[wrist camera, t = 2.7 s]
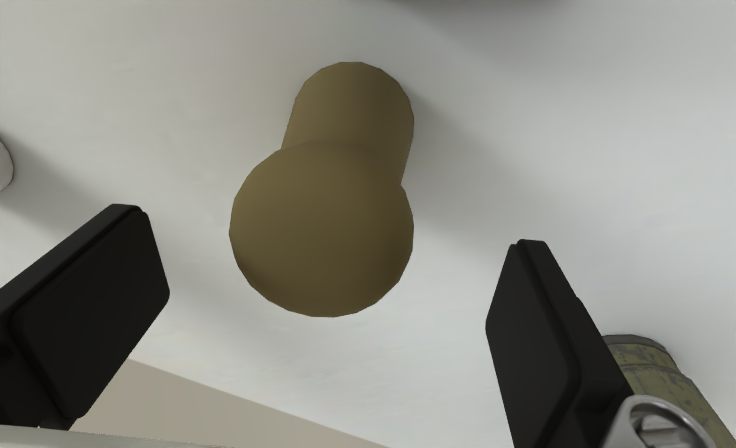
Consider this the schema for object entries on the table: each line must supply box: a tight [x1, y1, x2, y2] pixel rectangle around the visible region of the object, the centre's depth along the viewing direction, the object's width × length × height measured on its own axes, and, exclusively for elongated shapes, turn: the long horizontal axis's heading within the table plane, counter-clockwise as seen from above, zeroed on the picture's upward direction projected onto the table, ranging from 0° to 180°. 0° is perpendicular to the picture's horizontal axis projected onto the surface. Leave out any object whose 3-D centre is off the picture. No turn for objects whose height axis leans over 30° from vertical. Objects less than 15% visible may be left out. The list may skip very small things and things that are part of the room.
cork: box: [229, 62, 414, 317], centre depth 14 cm, size 6×6×11 cm
